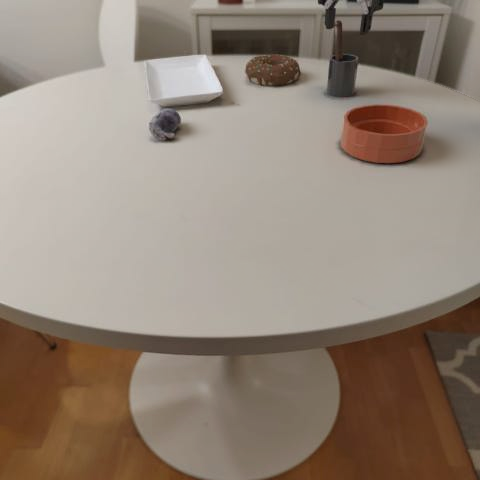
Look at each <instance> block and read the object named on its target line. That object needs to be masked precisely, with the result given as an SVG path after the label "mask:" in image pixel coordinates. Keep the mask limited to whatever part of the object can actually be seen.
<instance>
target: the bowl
mask: <svg viewBox="0 0 480 480" xmlns="http://www.w3.org/2000/svg"><path fill="white" fill-rule="evenodd" d="M342 120H343V121H342V127H341V128H342V129H341V135H340V136H341V137H340V147H341V148H342V150H343V151H344V153H346V154H348V155H349V156H351V157H353V158H355V159H358V160H361V161H365V162H370V163H376V164H396V163H397V164H398V163H404V162H406V161H411V160H413V159H415V158H417V157H418V156H419V155H420V154H421V151H422V149H423V147H424V141H425V139H426V134H427V129H428V126H429V125H428V124H429V121H428V118H427V116H425V115H424V114H423V113H421V112H419V111H417V110H415V109H412V108H410V107H405V106H402V105H401V106H400V105H394V104H366V105H365V104H364V105H361V106H357V107H353V108H352V109H349V110H348V111H346V112H345V114H344V115H343V119H342Z"/></svg>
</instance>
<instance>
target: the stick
mask: <svg viewBox="0 0 480 480" xmlns="http://www.w3.org/2000/svg"><path fill="white" fill-rule="evenodd" d="M333 30H334V55H335V60H336V61H343V54H344V47H343V46H344V45H343V43H344V41H343V40H344V39H343V37H344V36H343V22H342V21H341V20H335V24H334V28H333Z"/></svg>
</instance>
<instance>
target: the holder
mask: <svg viewBox="0 0 480 480" xmlns="http://www.w3.org/2000/svg"><path fill="white" fill-rule="evenodd" d="M358 67H359V57H358V56H357V55H355V54H349V53H343V61H336V60H335V54H333V55H331V56H329V59H328V68H327V69H328V71H327V79H326V80H327V81H326V82H327V83H326V94H327V95H328V96H329V97H332V98H333V97H334V98H348V97H352V96H353V95H354V94H355V89H356V82H357V75H358Z"/></svg>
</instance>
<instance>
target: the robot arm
mask: <svg viewBox="0 0 480 480" xmlns="http://www.w3.org/2000/svg"><path fill="white" fill-rule="evenodd" d="M339 1H340V0H317V4H318V5H322V6H323V7H324V9H325V14H324V26H325V29H326V30H332V29H334V24H335V22H336V12H337V8H336V6H337V4H338V3H339ZM356 3H357V4H358V5H359V6H360V8H361V11H362V14H361V20H360V26H359V27H360V28H359V35H361V36H365V35H368V33H369V32H370V31H371V28H372V22H373V17H374V16H373V15H374V14H375V12H378V11H382V10H383V9H384V3H385V0H356Z"/></svg>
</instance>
